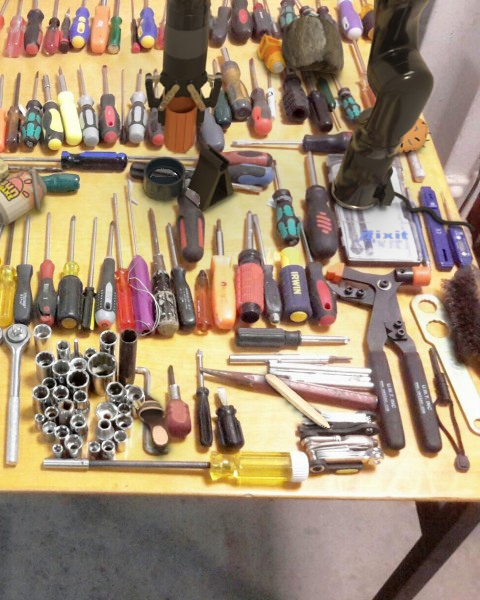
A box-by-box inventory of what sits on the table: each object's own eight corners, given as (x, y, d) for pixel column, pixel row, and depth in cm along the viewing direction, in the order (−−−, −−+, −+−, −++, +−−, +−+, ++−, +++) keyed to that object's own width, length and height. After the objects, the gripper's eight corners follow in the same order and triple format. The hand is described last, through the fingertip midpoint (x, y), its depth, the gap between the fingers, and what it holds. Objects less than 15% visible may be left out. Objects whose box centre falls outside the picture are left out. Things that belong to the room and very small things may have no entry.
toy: (415, 116, 145) (424, 102, 140) (434, 151, 141) (445, 137, 137) (364, 129, 145) (372, 115, 140) (383, 164, 141) (392, 151, 136)
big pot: (183, 173, 142) (185, 156, 138) (184, 202, 137) (186, 186, 133) (143, 173, 143) (144, 156, 139) (143, 202, 138) (143, 185, 134)
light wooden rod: (326, 435, 105) (328, 431, 103) (262, 379, 111) (263, 374, 110) (332, 429, 105) (335, 425, 104) (268, 373, 112) (269, 369, 111)
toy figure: (264, 77, 158) (256, 51, 166) (284, 80, 159) (276, 55, 166) (272, 57, 154) (264, 32, 161) (293, 61, 155) (284, 35, 162)
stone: (270, 31, 154) (299, 32, 164) (288, 88, 155) (316, 86, 165) (316, 3, 145) (344, 6, 155) (336, 64, 145) (362, 64, 155)
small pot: (194, 131, 125) (197, 93, 118) (194, 152, 122) (198, 114, 115) (163, 131, 126) (165, 94, 119) (163, 152, 123) (165, 114, 115)
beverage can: (11, 237, 135) (54, 208, 139) (5, 211, 128) (51, 181, 132) (-14, 212, 139) (28, 185, 143) (-21, 186, 132) (24, 158, 136)
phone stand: (201, 211, 135) (207, 170, 125) (184, 195, 138) (188, 154, 128) (233, 193, 137) (241, 151, 128) (215, 178, 141) (222, 136, 131)
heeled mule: (157, 394, 111) (157, 384, 108) (176, 451, 105) (177, 442, 102) (132, 400, 111) (132, 390, 108) (151, 458, 105) (150, 449, 101)
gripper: (142, 58, 105) (142, 136, 119) (229, 56, 104) (219, 136, 117) (143, 32, 109) (143, 110, 123) (227, 30, 108) (217, 110, 121)
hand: (180, 123), depth 120 cm, fingers closed on small pot, 6 cm apart
